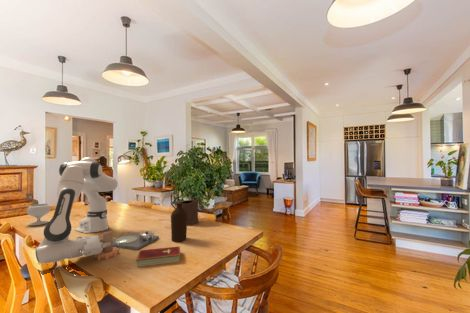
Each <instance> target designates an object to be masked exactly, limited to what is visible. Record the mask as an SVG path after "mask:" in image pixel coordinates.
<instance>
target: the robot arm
mask: <svg viewBox="0 0 470 313" xmlns="http://www.w3.org/2000/svg"><path fill="white" fill-rule="evenodd" d="M58 173H59V176H60V179H59V181H58V183H57V184H58V186H57V192H56V194H57V195H56V196H57V203H56V207H55V208H54V213H53V216H52V218H51V219H50V220H49V221H48V223H46V225H45V227H44V229H43V236H44V237H43V239H42V240H41V242H40V243H39V244H38V246H37V247H36V248H35V258H36V261H37V262H38V263H40V264H51V263H56V262H60V261H62V260H63V261H64V260H67V259H75V258H79V257H83V256H85V257H86V256H87V257H88V256H93V255H94V256H95V254H99V253H101V252H102V248H104V247H107V246H110V245H111V242H107V243H102V238H103V237H101V238H99V236H98V235H87V236H77V237H76V238H75V239H69V238H70V236H71V233H72V232H71V231H72V224H71V220H70V218H71V217H70V216H71V213H72V208H73V205H74V202H75V201H76V199H79V197H80V195H81V193H83V194H84V195H85V196H86V198H87V200H88V211H87V212H86V213H85V214H86V217H84V218H83V219H82V220H80V222H79V225H78V227H77V228H75V229H74V231H76V232H79V233H83V234H90V233H98V232H103V231H107V230H108V229H109V226H110V225H109V221H108V216H107V215H108V208H107V198H106V197H104V196H101V195H100V193H104V192H106V193H107V192H111V191H112V192H113V191H115V190H116V189H117V188H118V186H119V185H118V180H117V179H116V178H115V177H112V176H109V175H107V174H106V173H104V172H103V166H102V164H101V163H100V162H99V161H97V160H95V159H94V158H93V157H91V156H87V157H86V156H85V157H82V158H81V159H80V160H79V161H78V160H77V161H70V160H69V161H64V162H62V163H61V164H60V165H59V168H58Z"/></svg>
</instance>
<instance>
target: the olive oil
mask: <svg viewBox="0 0 470 313" xmlns="http://www.w3.org/2000/svg"><path fill="white" fill-rule="evenodd" d="M175 208H176V209H174V210H173V211H172V212H171V215H170V227H171V230H170V231H171V234H170V236H171V241H172V243H173V242H174V243H181V242H185V241H186V240H187V231H188V230H187V229H188V226H187V212H186V211H185V210H184V209H183V208H182V200H179V201H178V200H177V201H176V206H175Z"/></svg>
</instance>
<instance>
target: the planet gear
mask: <svg viewBox="0 0 470 313" xmlns="http://www.w3.org/2000/svg"><path fill="white" fill-rule="evenodd" d="M101 238H102V243H107V242H111V245H110V246H107V247H104V248H102V252H101V253H99V254H95V255H94V258H96V260H101V259H105V260H109V258H112V257H113V258H115V257H117V256H118V254H120V248H118V247H113V239H114V231H111V230H110V231H104V232H102V237H101Z"/></svg>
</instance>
